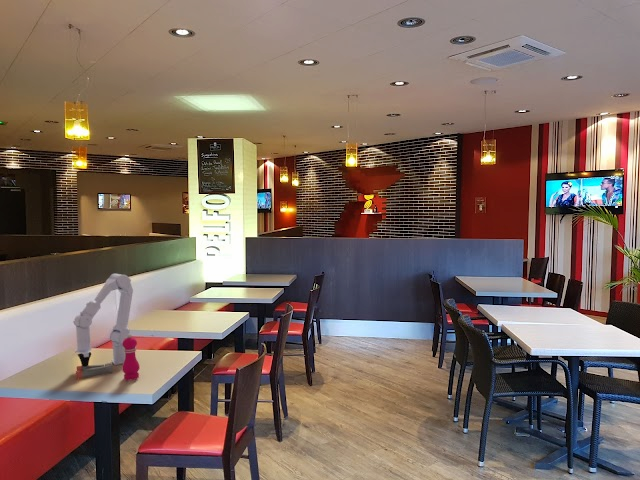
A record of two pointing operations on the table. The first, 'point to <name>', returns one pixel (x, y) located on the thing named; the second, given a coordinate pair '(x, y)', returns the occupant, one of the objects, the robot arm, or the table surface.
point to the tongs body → (94, 371)
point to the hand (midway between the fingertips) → (85, 368)
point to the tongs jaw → (87, 367)
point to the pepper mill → (130, 359)
